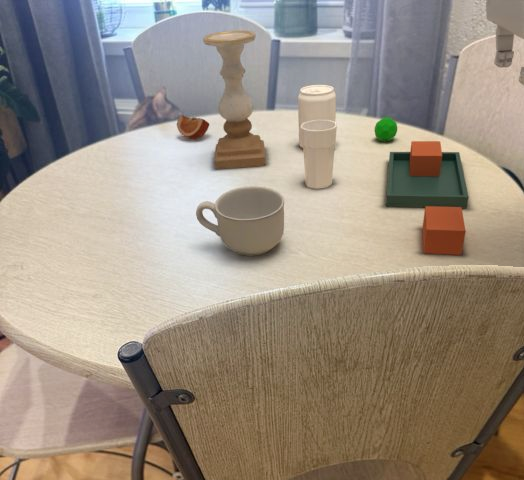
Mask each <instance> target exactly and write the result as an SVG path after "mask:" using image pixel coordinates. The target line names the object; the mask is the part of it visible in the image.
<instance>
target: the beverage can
mask: <svg viewBox="0 0 524 480" xmlns="http://www.w3.org/2000/svg"><path fill="white" fill-rule="evenodd" d="M334 90H335V88H334V87H333V86H332V85H327V84H311V85H307V86H303V87H301V88H300V89H299V94H298V96H297V111H298V112H297V115H298V145H299V146H300V148H302V149H303V144H302V139H301V125H302V124H303V123H305V122H308V121H312V120H330V121H334V122H335V123H336V120H337V119H336V116H337V115H336V113H337V112H336V111H337V110H336V109H337V95H336V92H335V91H334Z"/></svg>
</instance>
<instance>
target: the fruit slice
mask: <svg viewBox="0 0 524 480" xmlns="http://www.w3.org/2000/svg"><path fill="white" fill-rule="evenodd" d="M209 127H210V123H209V122H208V121H207V120H206V119H204V118H200V117H194V116H192V117H189V116H187V115H181V114H180V115H179V114H178V118H177V122H176V128H177V130H178V133H180V135H182V136H183V137H185V138H187V139H189V140H197V139H200V138H202V137H203V136H204V135H205V134H206V133H207V132H208V130H209Z"/></svg>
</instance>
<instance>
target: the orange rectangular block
mask: <svg viewBox="0 0 524 480" xmlns="http://www.w3.org/2000/svg"><path fill="white" fill-rule="evenodd" d="M410 144H411V145H410V151H409V152H410V160H409V168H410V176H432V177H439V175H440V168H441V161H442V152H443V151H442V144H441V141H439V140H432V141H431V140H411V143H410Z"/></svg>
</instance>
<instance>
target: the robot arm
mask: <svg viewBox="0 0 524 480" xmlns="http://www.w3.org/2000/svg"><path fill="white" fill-rule="evenodd" d="M485 12H486V19H487V21H489V22H491V23H493V24H495V26H496V30H495V48H496V49H495V50H496V51H495V57H494V61H493V63H494V65H495V66H496V67H498V68H500V69H501V68H510V67H511V66H512V64H513V58H514V54H515V51H513V49H514V48H513V47H514V39H515V36H516V37H518V38H521V39H522V40H524V0H486V1H485ZM518 82H519V83H520V84H521V85H523V86H524V66H521V68H520V72H519V77H518Z"/></svg>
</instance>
